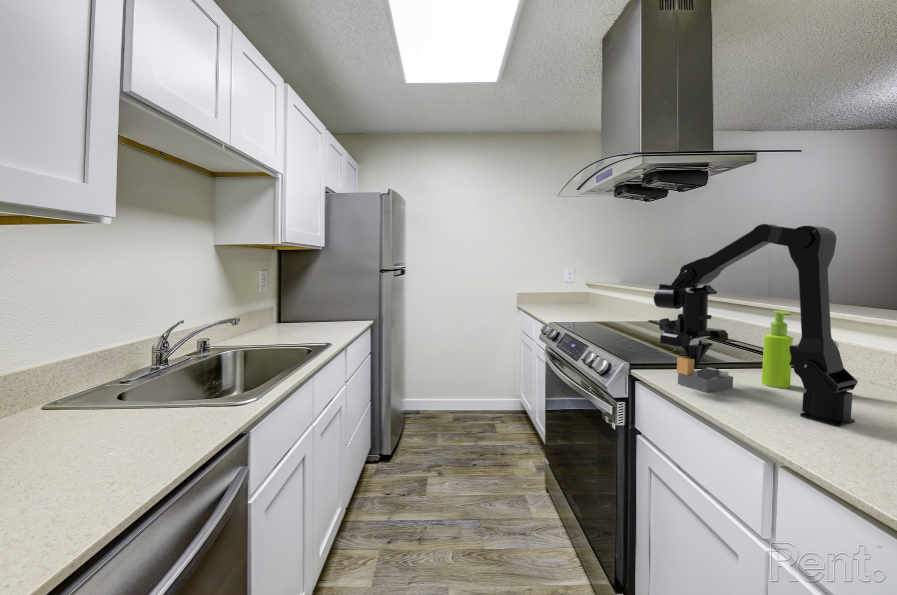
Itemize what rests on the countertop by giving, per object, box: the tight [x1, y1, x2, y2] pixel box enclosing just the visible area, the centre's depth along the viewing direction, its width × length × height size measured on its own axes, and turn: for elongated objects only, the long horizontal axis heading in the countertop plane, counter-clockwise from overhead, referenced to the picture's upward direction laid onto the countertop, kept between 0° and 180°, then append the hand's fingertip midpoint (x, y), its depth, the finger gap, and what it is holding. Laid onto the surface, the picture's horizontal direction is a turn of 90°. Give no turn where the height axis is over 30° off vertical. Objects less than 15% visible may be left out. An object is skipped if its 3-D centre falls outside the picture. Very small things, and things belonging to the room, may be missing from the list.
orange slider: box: [676, 355, 695, 375], centre depth 108 cm, size 3×2×4 cm
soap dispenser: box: [761, 310, 794, 389], centre depth 107 cm, size 6×7×20 cm
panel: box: [677, 369, 734, 393], centre depth 107 cm, size 8×10×4 cm
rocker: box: [696, 366, 720, 379], centre depth 104 cm, size 3×4×2 cm
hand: (693, 368), depth 109 cm, fingers closed
